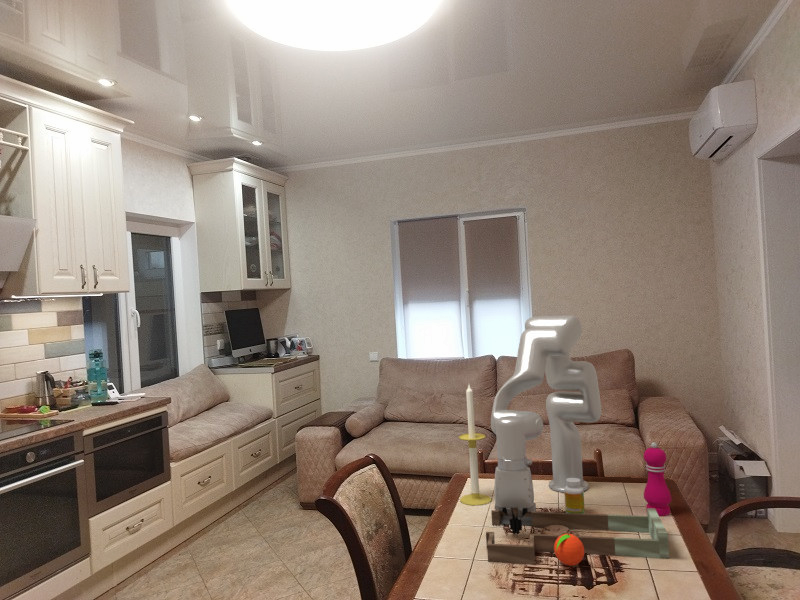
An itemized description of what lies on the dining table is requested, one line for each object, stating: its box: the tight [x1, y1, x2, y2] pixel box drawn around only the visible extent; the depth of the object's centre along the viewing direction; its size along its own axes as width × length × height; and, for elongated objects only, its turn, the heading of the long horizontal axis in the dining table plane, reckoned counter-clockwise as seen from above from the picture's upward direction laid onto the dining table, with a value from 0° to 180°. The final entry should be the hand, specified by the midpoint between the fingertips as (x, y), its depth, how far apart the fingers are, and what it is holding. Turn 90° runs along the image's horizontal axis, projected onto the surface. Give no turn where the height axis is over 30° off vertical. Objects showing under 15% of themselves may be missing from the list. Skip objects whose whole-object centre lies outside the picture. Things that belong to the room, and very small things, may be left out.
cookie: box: [539, 525, 580, 536], centre depth 147 cm, size 10×11×3 cm
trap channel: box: [485, 502, 670, 565], centre depth 146 cm, size 30×43×6 cm
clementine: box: [553, 534, 585, 567], centre depth 133 cm, size 8×7×7 cm
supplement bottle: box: [563, 478, 586, 514], centre depth 164 cm, size 5×5×10 cm
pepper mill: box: [643, 441, 672, 517], centre depth 161 cm, size 7×7×20 cm
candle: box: [458, 384, 492, 507], centre depth 179 cm, size 10×10×38 cm
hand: (516, 532), depth 150 cm, fingers closed
